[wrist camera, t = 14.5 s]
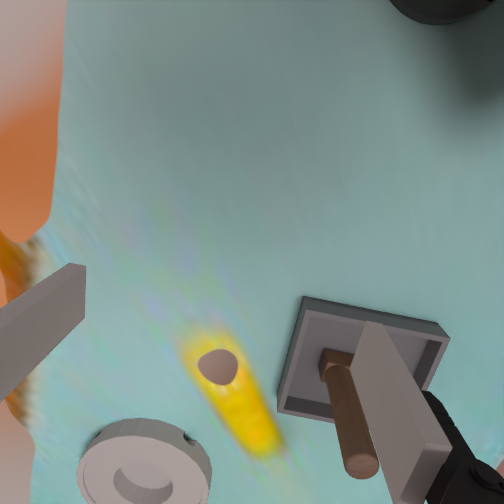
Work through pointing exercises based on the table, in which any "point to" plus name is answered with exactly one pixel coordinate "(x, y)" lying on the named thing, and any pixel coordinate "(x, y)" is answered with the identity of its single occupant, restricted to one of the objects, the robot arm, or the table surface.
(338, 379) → the brown round-handled part
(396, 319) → the tray
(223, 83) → the table surface
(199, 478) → the ashtray
